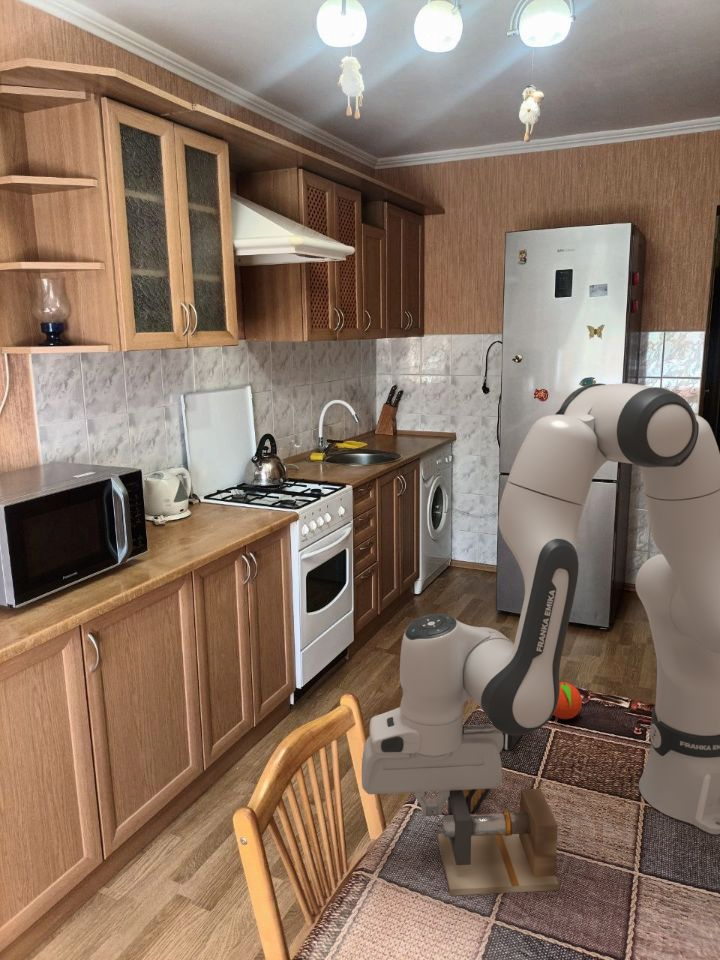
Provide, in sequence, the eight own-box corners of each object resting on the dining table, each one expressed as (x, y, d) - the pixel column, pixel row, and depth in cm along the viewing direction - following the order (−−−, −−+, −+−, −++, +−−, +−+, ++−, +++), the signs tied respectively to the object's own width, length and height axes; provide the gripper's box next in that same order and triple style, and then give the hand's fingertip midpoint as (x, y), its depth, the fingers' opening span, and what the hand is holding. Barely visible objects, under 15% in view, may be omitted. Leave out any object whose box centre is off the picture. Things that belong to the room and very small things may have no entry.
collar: (461, 830, 106) (461, 788, 105) (470, 864, 100) (471, 820, 98) (447, 830, 106) (448, 788, 105) (456, 865, 99) (456, 820, 98)
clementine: (587, 728, 138) (589, 694, 137) (551, 729, 138) (553, 695, 136) (574, 707, 146) (576, 674, 144) (540, 708, 146) (542, 675, 144)
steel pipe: (534, 824, 104) (535, 805, 104) (540, 839, 101) (541, 819, 101) (442, 828, 104) (442, 809, 103) (445, 843, 101) (445, 824, 100)
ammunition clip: (466, 827, 111) (467, 757, 109) (455, 823, 112) (456, 754, 110) (490, 789, 121) (491, 724, 118) (479, 785, 121) (481, 721, 119)
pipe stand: (535, 834, 109) (537, 782, 108) (558, 890, 99) (561, 832, 97) (437, 839, 109) (438, 786, 107) (450, 895, 98) (450, 837, 96)
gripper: (498, 712, 106) (496, 796, 109) (359, 718, 105) (361, 802, 108) (509, 736, 99) (507, 824, 102) (361, 743, 99) (363, 831, 102)
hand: (431, 813), depth 105 cm, fingers closed
